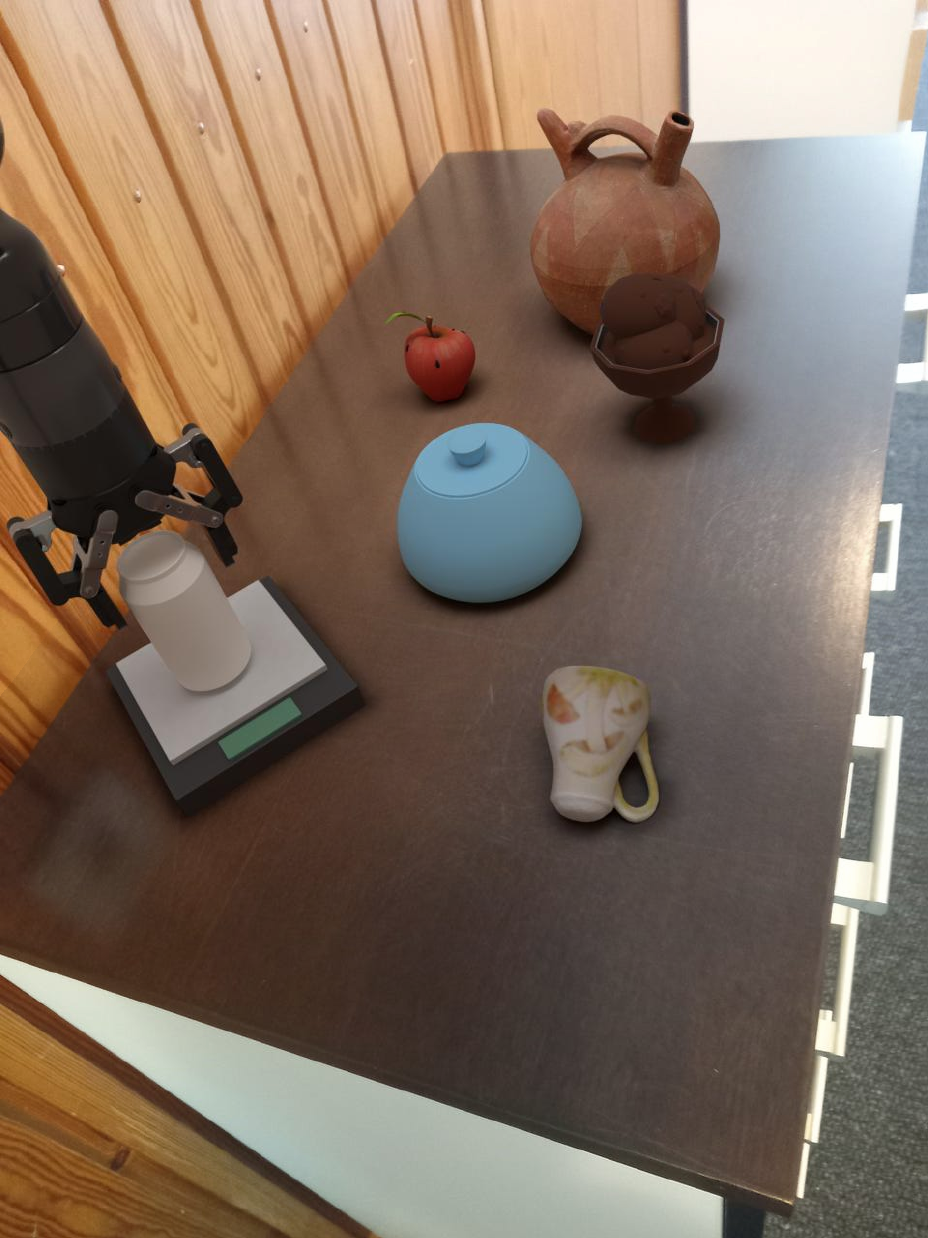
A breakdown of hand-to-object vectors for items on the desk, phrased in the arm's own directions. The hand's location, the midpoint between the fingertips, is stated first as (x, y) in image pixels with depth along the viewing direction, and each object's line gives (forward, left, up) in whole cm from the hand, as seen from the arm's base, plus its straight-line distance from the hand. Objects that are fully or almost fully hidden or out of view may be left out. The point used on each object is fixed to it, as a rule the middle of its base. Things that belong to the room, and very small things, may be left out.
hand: (173, 590), depth 73 cm
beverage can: (0, 0, -8) cm, 8 cm away
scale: (0, -1, -11) cm, 11 cm away
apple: (+33, +20, -11) cm, 40 cm away
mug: (+17, -25, -11) cm, 32 cm away
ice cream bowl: (+44, 0, -11) cm, 45 cm away
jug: (+54, +17, -11) cm, 58 cm away
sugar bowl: (+24, -2, -11) cm, 27 cm away
